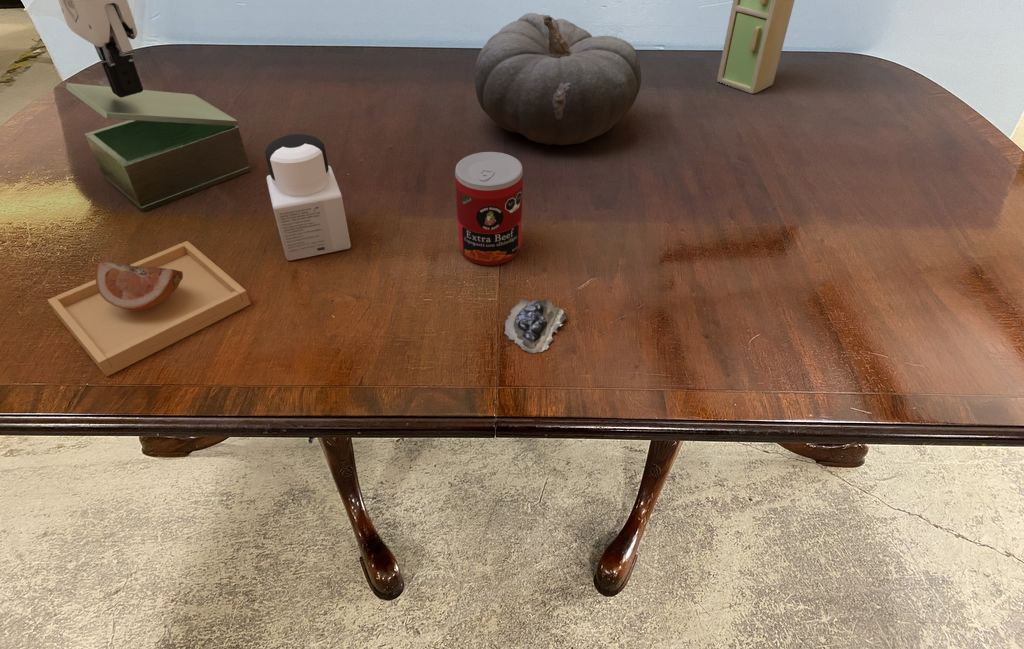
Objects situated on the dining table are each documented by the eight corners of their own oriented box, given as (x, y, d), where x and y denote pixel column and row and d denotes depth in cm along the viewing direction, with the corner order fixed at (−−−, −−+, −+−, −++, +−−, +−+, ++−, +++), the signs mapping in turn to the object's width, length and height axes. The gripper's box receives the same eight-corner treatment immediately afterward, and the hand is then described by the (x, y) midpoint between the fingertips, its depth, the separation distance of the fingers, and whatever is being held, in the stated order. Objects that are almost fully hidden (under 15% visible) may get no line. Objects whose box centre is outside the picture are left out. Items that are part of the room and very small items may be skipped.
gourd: (505, 68, 119) (519, -33, 106) (638, 110, 116) (669, 12, 103) (448, 140, 104) (456, 33, 90) (600, 192, 100) (631, 88, 87)
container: (279, 228, 85) (254, 133, 76) (340, 217, 87) (322, 123, 79) (287, 262, 80) (261, 163, 71) (351, 249, 82) (334, 151, 73)
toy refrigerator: (712, 82, 122) (739, -45, 108) (735, 73, 126) (764, -52, 112) (750, 96, 118) (783, -36, 104) (772, 85, 122) (807, -43, 108)
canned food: (458, 267, 79) (453, 185, 72) (459, 230, 85) (455, 151, 78) (522, 267, 79) (524, 184, 72) (519, 229, 85) (521, 150, 78)
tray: (106, 377, 65) (98, 362, 64) (55, 313, 72) (47, 299, 71) (250, 304, 74) (246, 290, 72) (192, 254, 81) (187, 240, 79)
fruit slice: (201, 287, 75) (187, 251, 71) (170, 327, 70) (153, 289, 66) (132, 280, 75) (115, 244, 72) (96, 319, 71) (76, 281, 67)
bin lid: (106, 119, 79) (106, 112, 79) (66, 89, 86) (66, 82, 85) (237, 126, 91) (237, 120, 91) (193, 99, 98) (194, 94, 98)
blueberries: (566, 305, 74) (567, 291, 73) (568, 355, 68) (569, 341, 67) (506, 303, 74) (506, 289, 73) (502, 352, 68) (502, 339, 67)
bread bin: (143, 212, 88) (123, 165, 83) (104, 179, 94) (84, 133, 90) (250, 171, 96) (238, 126, 92) (208, 143, 103) (194, 100, 98)
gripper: (8, -77, 75) (75, 84, 87) (57, -53, 68) (124, 119, 80) (78, -85, 79) (133, 69, 91) (132, -64, 72) (184, 102, 84)
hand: (128, 92), depth 85 cm, fingers closed
